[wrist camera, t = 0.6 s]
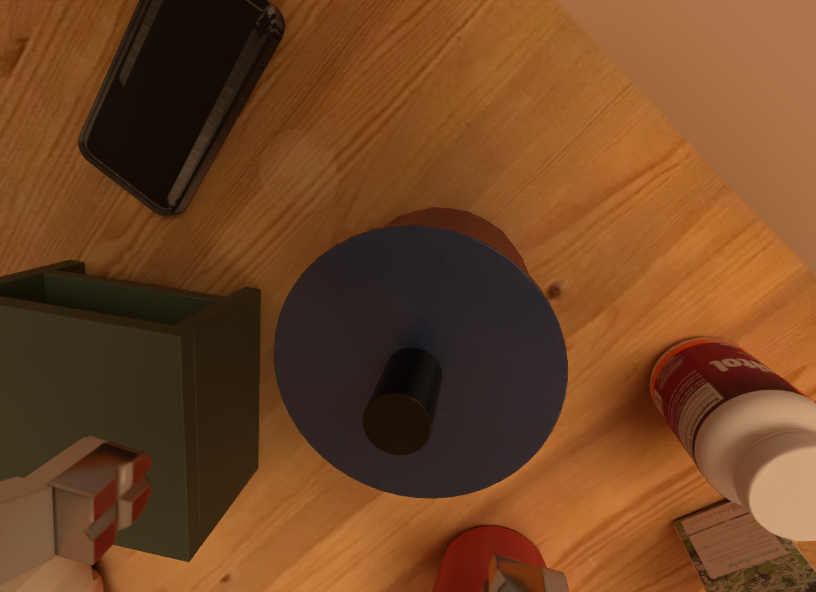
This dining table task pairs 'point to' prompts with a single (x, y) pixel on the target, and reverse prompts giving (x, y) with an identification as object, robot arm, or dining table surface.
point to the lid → (421, 361)
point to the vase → (57, 578)
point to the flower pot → (481, 557)
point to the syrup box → (742, 553)
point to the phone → (177, 94)
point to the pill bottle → (743, 431)
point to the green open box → (134, 390)
